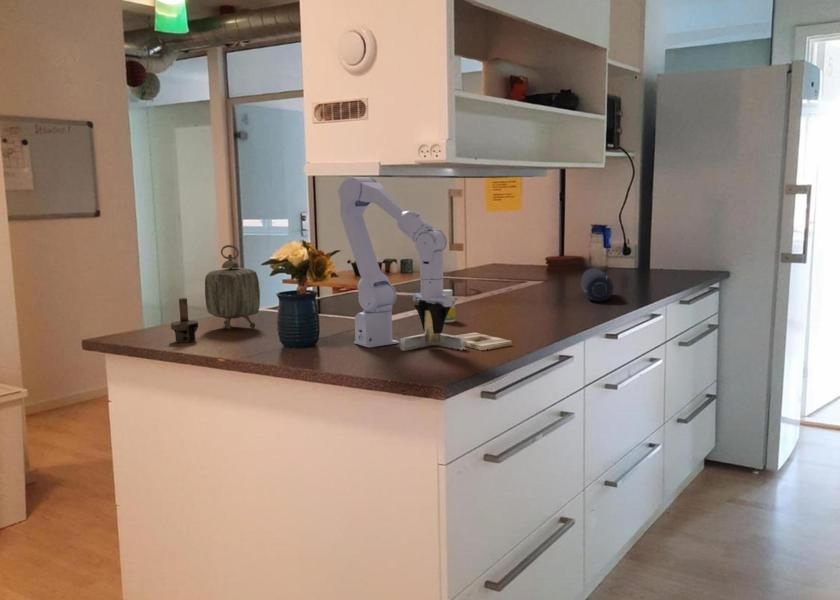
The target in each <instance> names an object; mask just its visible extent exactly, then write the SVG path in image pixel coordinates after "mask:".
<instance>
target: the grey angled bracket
mask: <svg viewBox="0 0 840 600" xmlns="http://www.w3.org/2000/svg"><path fill="white" fill-rule="evenodd" d="M399 343H400V350H401V351H403V352H405V351H410V350H414V349H415V350H416V349H420V348H424V347H430V346H438V347H443V348H448V349H452V348H453V349H454V350H457V349H459V351H463V349H464V350H466V347H465V337H459V336H456V335H453V334H447V333H443V332H442V333H441V341H440V342H436V343H429V342H425V333H422V334H416V335H411V336H406V337H400V341H399Z"/></svg>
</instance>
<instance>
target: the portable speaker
mask: <svg viewBox="0 0 840 600" xmlns="http://www.w3.org/2000/svg"><path fill="white" fill-rule="evenodd" d="M580 285H581V288H582V291H583V292H584V294H585V295H586V296H587V298H588V299H590V300H591V301H593V302H603V301H606V300H608V299H609V298H610V297H611V296H612V294H613V291H614V283H613V280H612V279H611V278H610V277H609V276H608V274H607V273H606V272H605V271H604V270H602V269H600V268H595V267H594V268H593V267H592V268H590V269H589V268H588V269H587V270H585V271H584V272H583V274H582V276H581V277H580Z"/></svg>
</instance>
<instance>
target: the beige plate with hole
mask: <svg viewBox="0 0 840 600" xmlns="http://www.w3.org/2000/svg"><path fill="white" fill-rule="evenodd" d="M455 336H459V337H465V346H466V347H465V348H469V347H470V349H473V348H474V349H473V350H477V349H478V350H477V351H481V350H482V351H487V349H488V350H492V349H499V348H505V347H511V346H512V344H513V341H512V340H510V339H505V338H501V337H497V336H491V335H487V334H482V333H479V332H471V333H470V332H469V333H464V334H463V333H462V334H456V335H455Z"/></svg>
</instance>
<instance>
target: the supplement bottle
mask: <svg viewBox="0 0 840 600" xmlns="http://www.w3.org/2000/svg"><path fill="white" fill-rule="evenodd" d="M443 294H445V295H447V297H448V298H452V306H450V310H449V312H448V314H447V316H446V318H445V322H444V324H445V323H454V322H456V298H455V297H454V296H453V294H454V293H453V289H443Z"/></svg>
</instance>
